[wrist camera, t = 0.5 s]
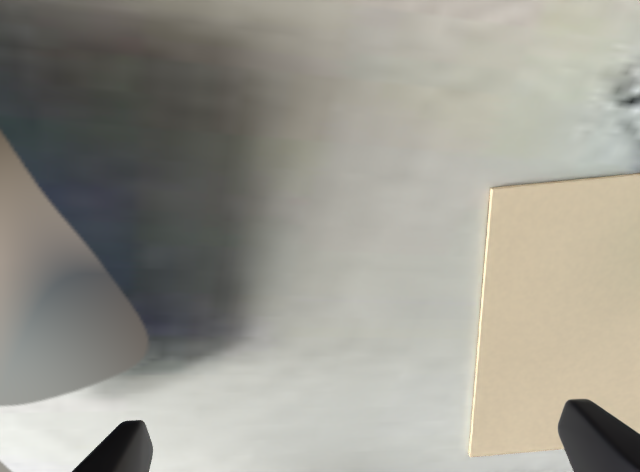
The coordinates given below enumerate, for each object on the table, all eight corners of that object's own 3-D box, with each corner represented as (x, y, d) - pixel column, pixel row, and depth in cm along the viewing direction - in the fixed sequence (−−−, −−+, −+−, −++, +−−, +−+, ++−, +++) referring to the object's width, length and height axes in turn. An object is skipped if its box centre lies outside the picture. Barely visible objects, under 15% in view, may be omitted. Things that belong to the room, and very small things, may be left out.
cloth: (695, 433, 30) (698, 437, 30) (468, 453, 30) (470, 457, 30) (806, 156, 21) (812, 158, 21) (490, 187, 22) (492, 189, 21)
